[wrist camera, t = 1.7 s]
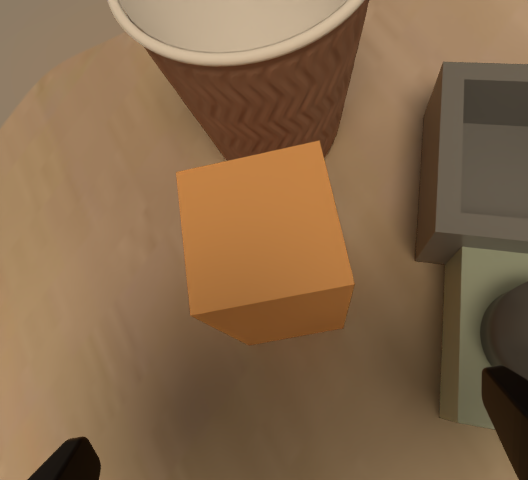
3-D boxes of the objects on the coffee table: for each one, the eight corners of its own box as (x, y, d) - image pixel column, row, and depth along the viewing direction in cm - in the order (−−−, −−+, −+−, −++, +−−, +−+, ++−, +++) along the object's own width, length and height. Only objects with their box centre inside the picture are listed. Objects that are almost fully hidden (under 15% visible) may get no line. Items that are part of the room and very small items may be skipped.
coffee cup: (398, 117, 25) (454, -100, 14) (287, 244, 23) (250, 115, 12) (270, 42, 28) (231, -181, 17) (165, 149, 27) (48, -21, 16)
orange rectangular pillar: (342, 328, 22) (354, 284, 12) (248, 345, 22) (190, 315, 13) (322, 238, 23) (319, 140, 14) (235, 256, 24) (176, 172, 14)
